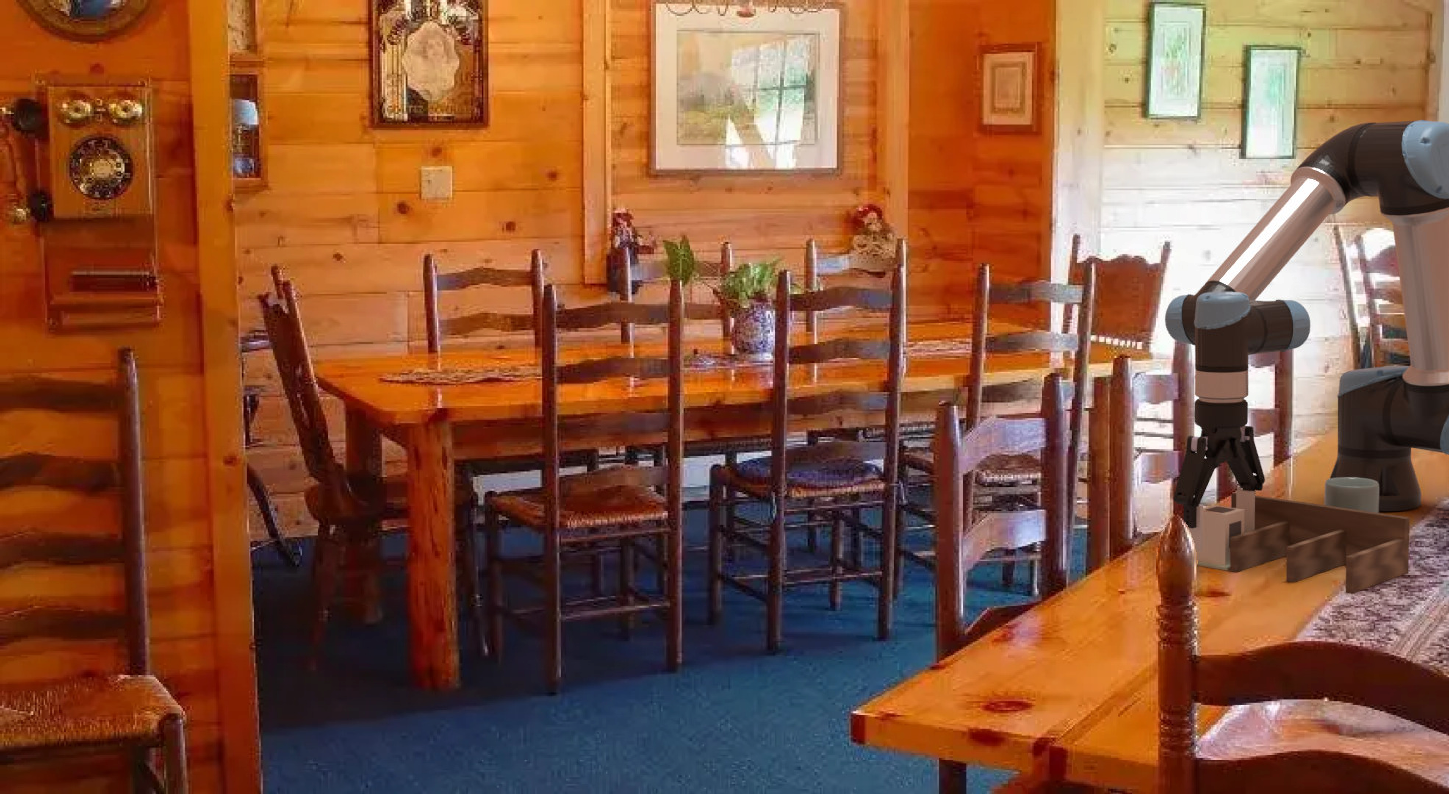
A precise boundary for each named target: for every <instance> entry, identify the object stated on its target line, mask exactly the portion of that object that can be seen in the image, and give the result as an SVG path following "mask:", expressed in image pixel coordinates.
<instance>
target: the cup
mask: <svg viewBox="0 0 1449 794" xmlns="http://www.w3.org/2000/svg"><path fill="white" fill-rule="evenodd" d="M1323 499H1324V502H1323V505H1326V506H1333V507H1340V508H1347V509H1354V510H1361V511H1368V512H1375V513H1380V511H1379V483H1378V482H1377V481H1375V480H1372V479H1367V478H1355V477H1339V478H1330V477H1329V478H1328V479H1326V480H1325V481H1324V498H1323Z"/></svg>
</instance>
